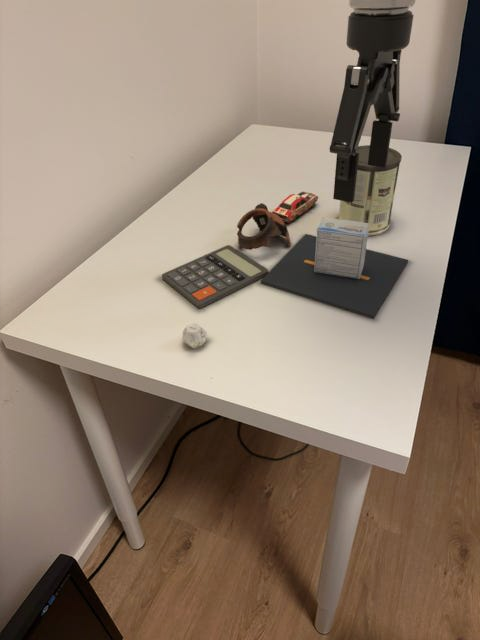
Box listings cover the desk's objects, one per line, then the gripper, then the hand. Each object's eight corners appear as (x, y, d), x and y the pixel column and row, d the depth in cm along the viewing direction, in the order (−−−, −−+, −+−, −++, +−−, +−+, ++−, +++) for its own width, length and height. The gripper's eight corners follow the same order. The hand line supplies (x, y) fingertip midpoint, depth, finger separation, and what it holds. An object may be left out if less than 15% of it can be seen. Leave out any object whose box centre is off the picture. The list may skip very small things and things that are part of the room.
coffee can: (354, 207, 103) (362, 140, 94) (398, 221, 98) (411, 152, 89) (327, 225, 98) (333, 157, 89) (373, 241, 92) (384, 170, 83)
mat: (407, 262, 86) (408, 259, 86) (373, 318, 75) (374, 315, 74) (305, 236, 95) (305, 233, 94) (260, 283, 83) (260, 280, 83)
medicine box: (363, 266, 85) (370, 222, 79) (359, 280, 81) (366, 235, 76) (319, 259, 87) (322, 216, 81) (313, 273, 84) (316, 228, 78)
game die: (190, 333, 74) (188, 317, 72) (211, 339, 72) (210, 324, 71) (178, 347, 71) (176, 332, 69) (200, 354, 70) (198, 338, 68)
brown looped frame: (298, 256, 90) (281, 229, 84) (253, 276, 93) (233, 251, 87) (286, 212, 97) (269, 184, 91) (245, 232, 100) (226, 206, 94)
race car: (269, 225, 102) (267, 206, 99) (304, 197, 107) (303, 178, 104) (287, 233, 99) (286, 214, 96) (322, 203, 104) (321, 185, 101)
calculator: (160, 273, 85) (228, 243, 92) (161, 278, 85) (228, 248, 92) (198, 304, 77) (269, 269, 84) (199, 308, 78) (269, 273, 85)
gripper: (377, 27, 48) (354, 223, 61) (440, -3, 64) (411, 156, 77) (307, 25, 51) (300, 211, 64) (384, -3, 67) (366, 150, 80)
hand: (361, 181), depth 71 cm, fingers open, 13 cm apart
